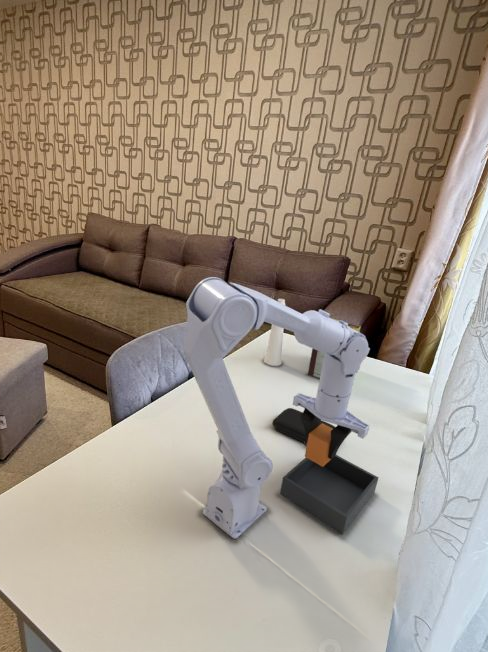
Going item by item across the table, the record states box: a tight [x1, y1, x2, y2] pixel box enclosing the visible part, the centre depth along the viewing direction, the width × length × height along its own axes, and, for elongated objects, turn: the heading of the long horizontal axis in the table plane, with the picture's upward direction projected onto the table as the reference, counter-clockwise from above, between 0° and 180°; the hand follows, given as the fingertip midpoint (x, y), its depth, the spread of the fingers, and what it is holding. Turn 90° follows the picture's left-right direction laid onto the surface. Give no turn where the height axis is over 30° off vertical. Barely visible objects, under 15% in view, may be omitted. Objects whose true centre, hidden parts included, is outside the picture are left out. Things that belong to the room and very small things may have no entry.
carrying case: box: [271, 407, 336, 447], centre depth 96 cm, size 11×3×15 cm
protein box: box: [307, 317, 362, 380], centre depth 127 cm, size 10×15×16 cm
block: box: [304, 424, 333, 467], centre depth 76 cm, size 5×4×6 cm
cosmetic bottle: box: [263, 298, 286, 367], centre depth 129 cm, size 6×6×22 cm
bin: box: [279, 454, 379, 535], centre depth 78 cm, size 14×13×4 cm
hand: (321, 450), depth 76 cm, fingers closed on block, 4 cm apart
